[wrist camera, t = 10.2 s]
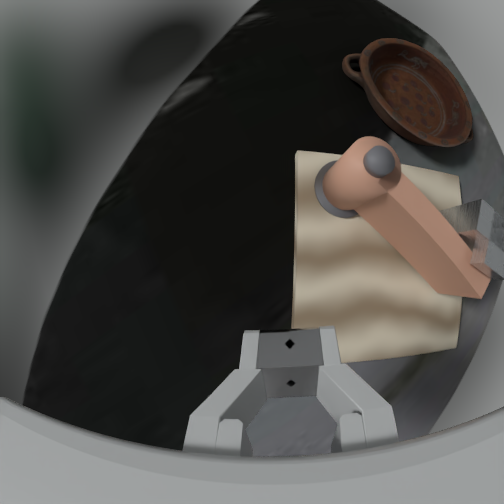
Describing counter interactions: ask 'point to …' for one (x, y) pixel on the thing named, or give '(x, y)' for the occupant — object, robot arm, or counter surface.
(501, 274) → the block
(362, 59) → the dish
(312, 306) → the base board
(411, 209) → the link
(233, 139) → the counter surface
